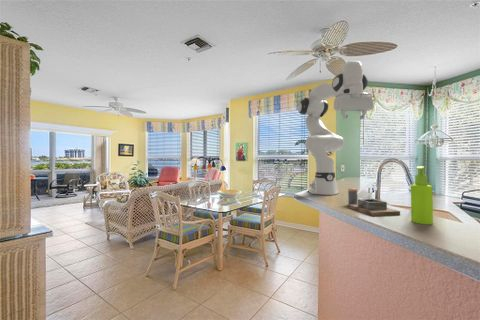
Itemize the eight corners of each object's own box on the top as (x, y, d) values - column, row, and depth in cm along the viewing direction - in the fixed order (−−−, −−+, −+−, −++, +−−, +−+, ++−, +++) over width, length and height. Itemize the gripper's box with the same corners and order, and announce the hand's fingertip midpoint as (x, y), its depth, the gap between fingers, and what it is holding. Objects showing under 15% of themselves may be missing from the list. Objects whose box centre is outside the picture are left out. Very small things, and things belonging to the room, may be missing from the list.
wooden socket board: (347, 207, 100) (347, 197, 100) (371, 206, 102) (371, 197, 102) (372, 216, 85) (372, 204, 85) (400, 214, 86) (399, 203, 86)
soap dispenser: (409, 222, 75) (409, 166, 76) (412, 218, 80) (411, 165, 80) (432, 226, 71) (431, 166, 71) (433, 221, 76) (432, 165, 76)
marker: (346, 204, 108) (346, 188, 108) (354, 203, 108) (353, 188, 108) (351, 205, 104) (351, 189, 104) (359, 205, 104) (359, 189, 104)
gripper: (367, 94, 115) (367, 120, 115) (331, 94, 113) (332, 120, 113) (376, 91, 109) (376, 117, 109) (338, 90, 107) (339, 117, 107)
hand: (353, 119), depth 111 cm, fingers open, 8 cm apart
